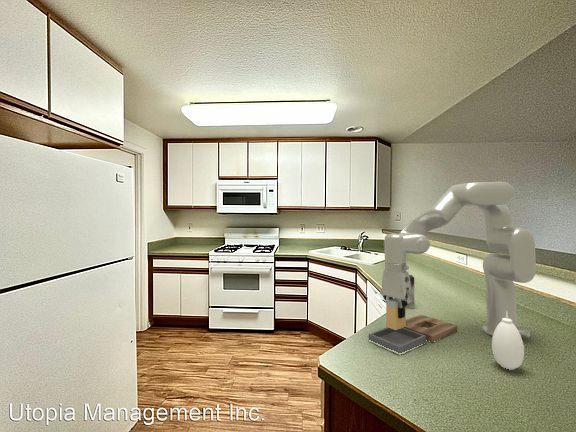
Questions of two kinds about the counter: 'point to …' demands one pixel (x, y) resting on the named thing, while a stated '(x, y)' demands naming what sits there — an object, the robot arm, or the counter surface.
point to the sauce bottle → (507, 344)
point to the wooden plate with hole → (430, 327)
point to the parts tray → (397, 339)
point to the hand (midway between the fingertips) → (395, 315)
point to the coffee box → (411, 305)
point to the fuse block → (394, 315)
